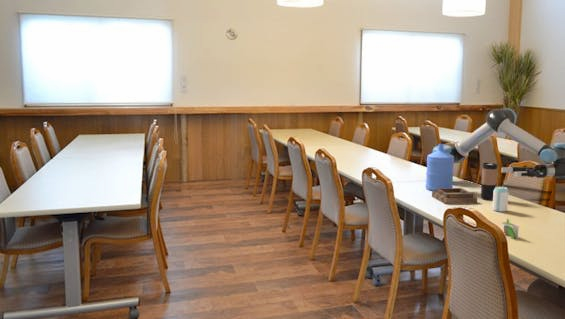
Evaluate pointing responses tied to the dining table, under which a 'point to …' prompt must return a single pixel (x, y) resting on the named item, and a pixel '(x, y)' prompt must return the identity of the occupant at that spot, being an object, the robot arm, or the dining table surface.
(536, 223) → the dining table surface
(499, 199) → the can
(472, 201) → the brown wooden tray
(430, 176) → the water jug
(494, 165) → the travel mug
